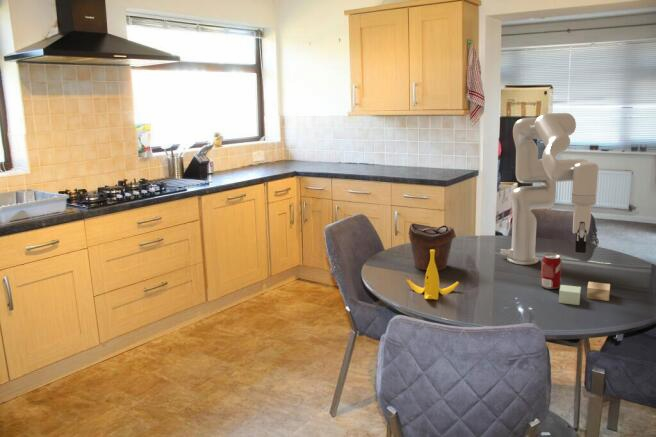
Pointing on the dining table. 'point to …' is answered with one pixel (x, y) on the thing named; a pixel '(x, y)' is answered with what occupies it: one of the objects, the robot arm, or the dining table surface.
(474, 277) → the dining table surface
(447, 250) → the brown flower pot
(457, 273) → the dining table surface
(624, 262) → the dining table surface
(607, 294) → the oak base block
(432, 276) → the banana peel
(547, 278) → the soda can
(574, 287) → the sage block
